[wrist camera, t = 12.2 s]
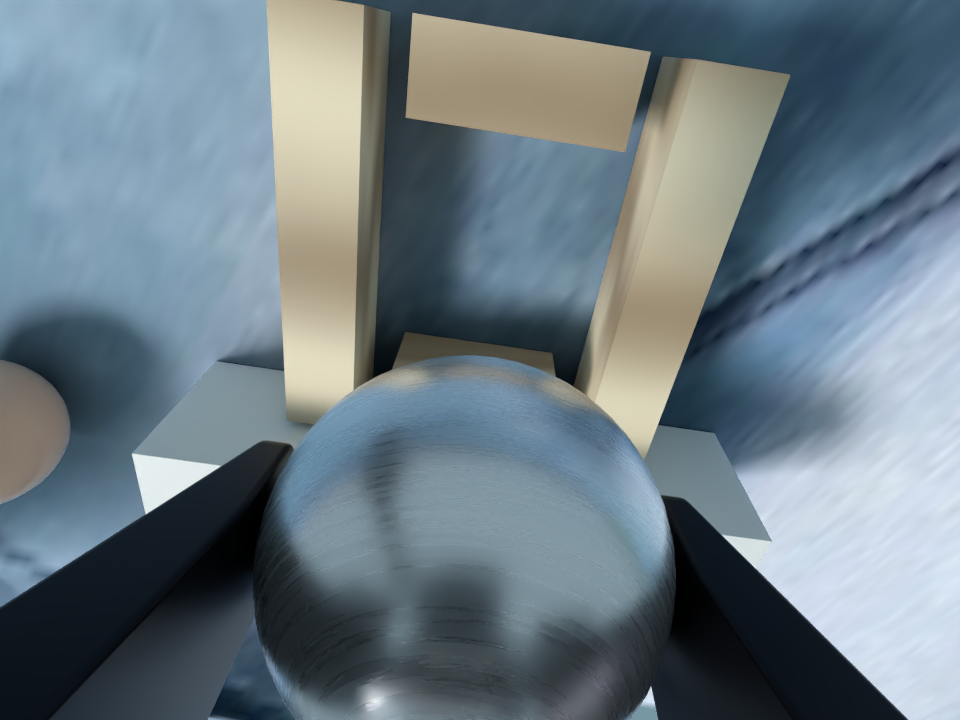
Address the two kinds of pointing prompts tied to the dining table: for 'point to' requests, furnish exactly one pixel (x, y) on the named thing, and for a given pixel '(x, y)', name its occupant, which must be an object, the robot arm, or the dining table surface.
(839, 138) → the dining table surface
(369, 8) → the beech collar
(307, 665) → the steel ball
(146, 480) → the stop block
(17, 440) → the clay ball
